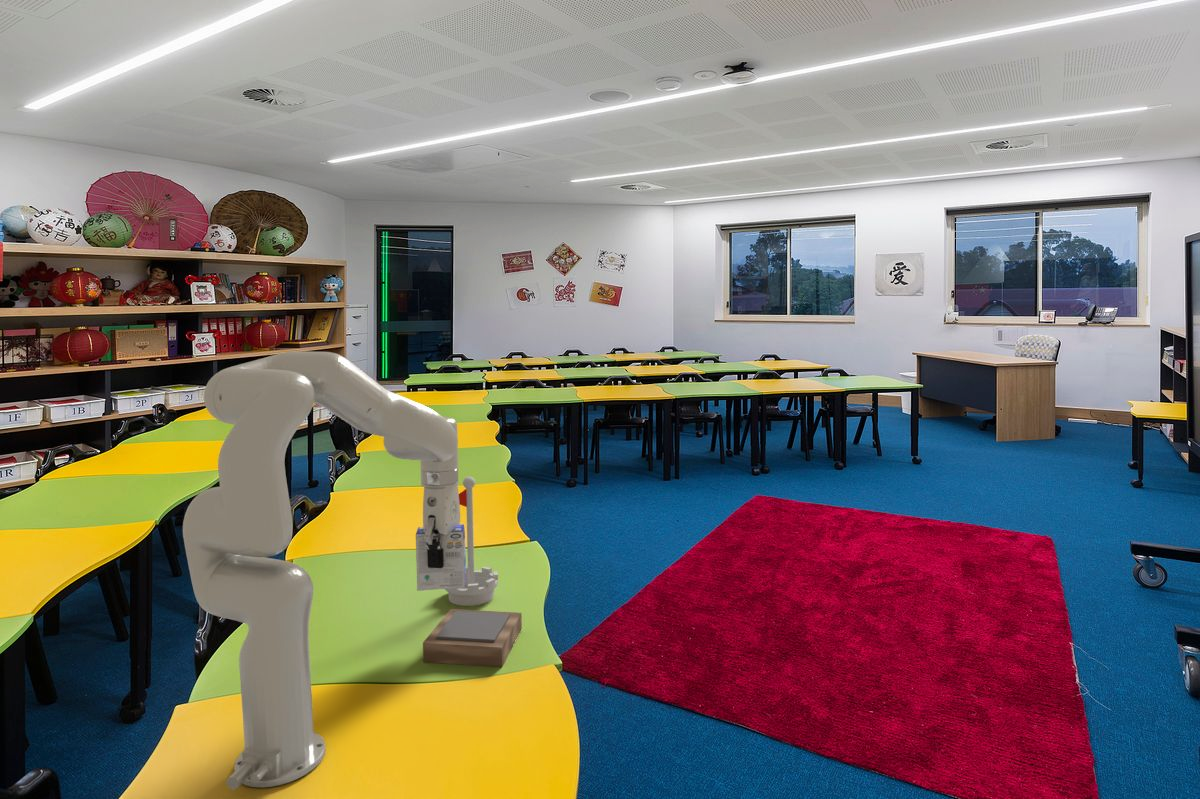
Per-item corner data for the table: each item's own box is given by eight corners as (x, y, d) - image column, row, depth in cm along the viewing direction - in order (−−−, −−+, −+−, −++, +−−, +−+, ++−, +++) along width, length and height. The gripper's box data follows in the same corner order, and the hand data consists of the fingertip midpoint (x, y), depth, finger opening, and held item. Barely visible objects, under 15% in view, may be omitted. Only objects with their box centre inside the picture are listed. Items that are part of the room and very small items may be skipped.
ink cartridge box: (466, 578, 146) (464, 512, 144) (466, 588, 140) (464, 520, 139) (418, 581, 144) (416, 515, 142) (416, 591, 138) (414, 523, 137)
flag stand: (482, 582, 176) (480, 468, 172) (508, 598, 165) (506, 477, 162) (435, 594, 168) (432, 475, 164) (459, 612, 157) (455, 485, 154)
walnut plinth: (502, 667, 132) (501, 645, 132) (423, 661, 134) (422, 640, 134) (521, 630, 148) (521, 610, 148) (451, 626, 150) (450, 606, 150)
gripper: (442, 487, 131) (445, 577, 132) (470, 468, 148) (471, 548, 150) (405, 486, 131) (408, 575, 133) (436, 467, 148) (438, 547, 150)
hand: (441, 560), depth 141 cm, fingers closed on ink cartridge box, 6 cm apart
